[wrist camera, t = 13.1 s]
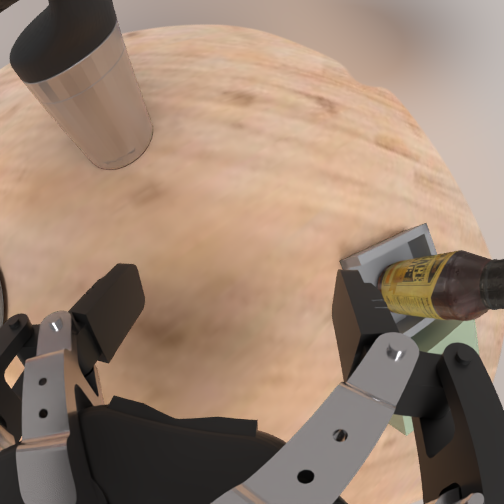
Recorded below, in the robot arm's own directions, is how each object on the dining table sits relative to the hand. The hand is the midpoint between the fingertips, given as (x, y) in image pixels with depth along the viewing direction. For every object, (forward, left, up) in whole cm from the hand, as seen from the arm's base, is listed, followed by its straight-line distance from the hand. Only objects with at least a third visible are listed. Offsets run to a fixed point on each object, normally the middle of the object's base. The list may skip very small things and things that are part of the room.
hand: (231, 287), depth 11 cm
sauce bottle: (+8, +18, -18) cm, 27 cm away
